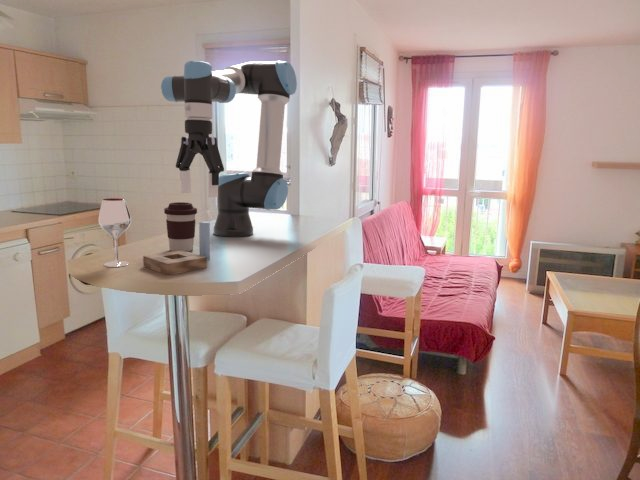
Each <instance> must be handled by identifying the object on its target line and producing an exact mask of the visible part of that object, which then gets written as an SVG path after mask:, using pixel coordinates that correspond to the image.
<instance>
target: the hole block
mask: <svg viewBox="0 0 640 480" xmlns="http://www.w3.org/2000/svg"><path fill="white" fill-rule="evenodd" d="M142 256H143V257H142V259H143V267H144V268H146V269H149V270H153V271H155V272H158V273H160V274H164V275H166V276H172V275H176V274H181V273H186V272H192V271H197V270H203V269H207V267H208V266H207V264H208V263H207V261H208V260H207V257H204V256H201V255H200V254H197V253H193V252H191V251H187V252H186V251H183V250H179V251H167V252H161V253H154V254H147V255H142ZM202 268H203V269H202Z"/></svg>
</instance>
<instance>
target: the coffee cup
mask: <svg viewBox="0 0 640 480" xmlns="http://www.w3.org/2000/svg"><path fill="white" fill-rule="evenodd" d="M168 204H169V205H168V206H167V207H165V208H164V209H163V211H164V214H165V216H166V219H165V220H166V222H165V223H166V230H167V231H166V232H167V233H166V234H167V237H168V245H169V250H170V252H173V251H179V250H183V251H186V252H191V251H193V250H194V241H195V240H194V239H195V235H196V234H195V233H196V215H197V214H198V208H197V207H194V206H193V204H192V203H191V202H179V201H177V202H170V203H168Z"/></svg>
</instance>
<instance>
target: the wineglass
mask: <svg viewBox="0 0 640 480" xmlns="http://www.w3.org/2000/svg"><path fill="white" fill-rule="evenodd" d="M98 213H99V214H98V225H99V226H100V227H101V228H102V230H103V231H104V232H106V233H107V234H108V235H110V237H112V238H113V243H114V260H113V261H108V262H105V263H104V264H103V266H105V267H108V268H121V267H126V266H129V265H130V262H129V261H125V260H119V249H118V248H119V247H118V241H119V240H118V239H119V237H120V236H121V235H122V234H123V233H125V232H126V230H128V228H129V227H130V225H131V223H132V216H131V212H130V209H129V206H128V203H127V200H126V199H125V198H120V197H119V198H118V197H117V198H116V197H113V198H102V200H101V204H100V208H99V212H98Z"/></svg>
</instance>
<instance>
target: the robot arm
mask: <svg viewBox="0 0 640 480" xmlns="http://www.w3.org/2000/svg"><path fill="white" fill-rule="evenodd" d="M183 67H184V68H183V75H170V76H166V77H163V79H162V81H161V84H160V89H161V94H162V96H163V98H164V99H165V100H166V101H167V102H173V103H178V102H180V103H181V102H182V103H184V108H183V109H184V117H185V118H186V119H185V120H184V133H185V134H188V136H181V139H180V148H179V150H178V151H179V152H178V155H177V159H176V163H175V168H176V169H179V172H180V193H181V194H189V193H190V194H191V170H190V167H191V164H192V163H193V161H194V159H195V156H196V155H197V154H200V155H201V156H202V158H203V160H204V162H205V164H206V166H207V168H208V170H209V171H208V176H207V178H208V180H207V181H208V185H207V186H208V198H217V209H218V210H217V216H216V219H215V223H214V226H213V235H216V236H221V237H229V238H230V237H231V238H232V237H235V238H237V237H249V236H251V235H253V234H254V226H253V224H252V220H251V218H250V212H249V210H250V209H258V210H266V211H267V210H268V211H270V210H271V211H272V210H273V211H274V210H275V211H276V210H279V209H281V208H282V207H283V206H284V204H285V202H286V200H287V196H288V193H289V186H288V181H287V180H286V179H285V178H284V174H283V172H282V171H281V168H280V167H281V157H282V155H281V154H282V145H283V135H284V134H283V133H284V120H285V119H284V118H285V107H286V104H288V103H289V102H290V98H291V96H293V95H294V94H295V93H296V90H297V86H298V85H297V84H298V83H297V75H296V72H295V70H294V67H293V65H292V64H291V62H289V61H284V60H272V61H271V60H270V61H267V60H266V61H264V60H263V61H248V62H244V63H240V64H236V65H231V66H227V67H226V68H225V69H224V70H215V71H213V68H212V65H211V63H210V62H206V61H201V60H190V61H186V62H185V63H184V66H183ZM236 94H244V95H256V96H257V98H258V100H259V101H260V102H261V108H260V118H259V131H258V143H257V154H256V155H257V156H256V166H255V168H254V169H252V171H251V176H250V174H249V172H241V173H230V174H221V175H220V173H221V172H225V167H224V164H223V160H222V157H221V153H220V150H219V147H218V139H217V137H216V136H215V137H214V136H213V137H212V136H209V135H212V134H213V122H212V121H211V120H212V119H213V103H220V104H221V103H222V104H223V103H224V104H226V103H227V104H228V103H230V102H232V101H233V100H234V98H235V97H236Z"/></svg>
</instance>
